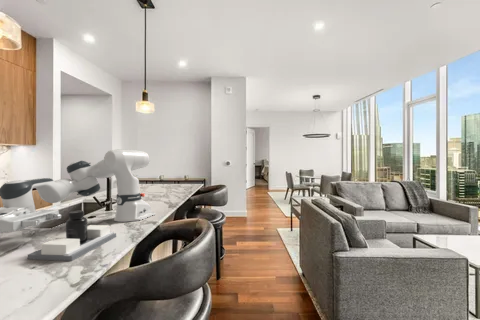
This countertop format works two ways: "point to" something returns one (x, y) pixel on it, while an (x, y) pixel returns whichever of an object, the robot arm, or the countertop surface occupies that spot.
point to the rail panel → (58, 257)
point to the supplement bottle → (77, 226)
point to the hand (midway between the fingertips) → (49, 219)
